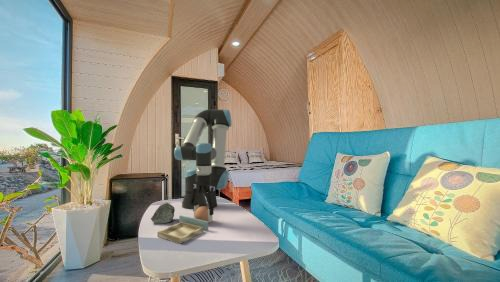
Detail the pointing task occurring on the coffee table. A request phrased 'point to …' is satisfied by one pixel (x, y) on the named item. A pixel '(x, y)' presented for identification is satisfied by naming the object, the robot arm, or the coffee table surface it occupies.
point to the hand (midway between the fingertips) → (203, 219)
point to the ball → (202, 213)
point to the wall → (194, 222)
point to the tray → (180, 232)
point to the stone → (163, 214)
